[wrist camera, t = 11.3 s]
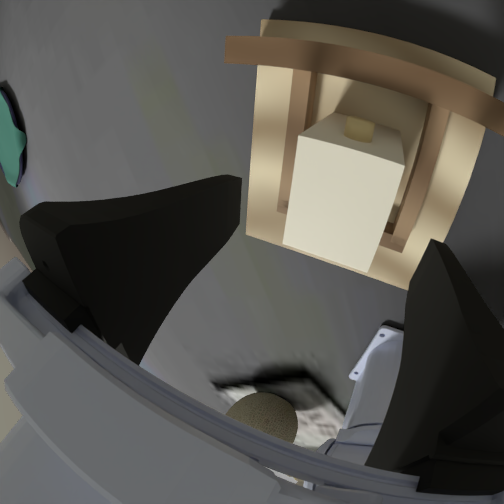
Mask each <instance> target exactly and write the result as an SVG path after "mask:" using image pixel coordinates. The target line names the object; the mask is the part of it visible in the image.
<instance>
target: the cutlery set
mask: <svg viewBox="0 0 504 504" xmlns="http://www.w3.org/2000/svg"><path fill="white" fill-rule="evenodd" d="M25 144H26V134H24V133H23V132H22V131H20V130H18V126H17V122H16V118H15V114H14V111H13V108H12V105H11V102H10V101H9V99H8V97H7V95H6V93H5V92H3V87H0V167H1V169H2V171H3V173H4V175H5V177H6V179H7V181H8V183H9V184H11V185H12V186H14V187H18V184H19V183H20V181H21V178H22V172H23V157H22V151H23V149H24V146H25Z"/></svg>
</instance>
